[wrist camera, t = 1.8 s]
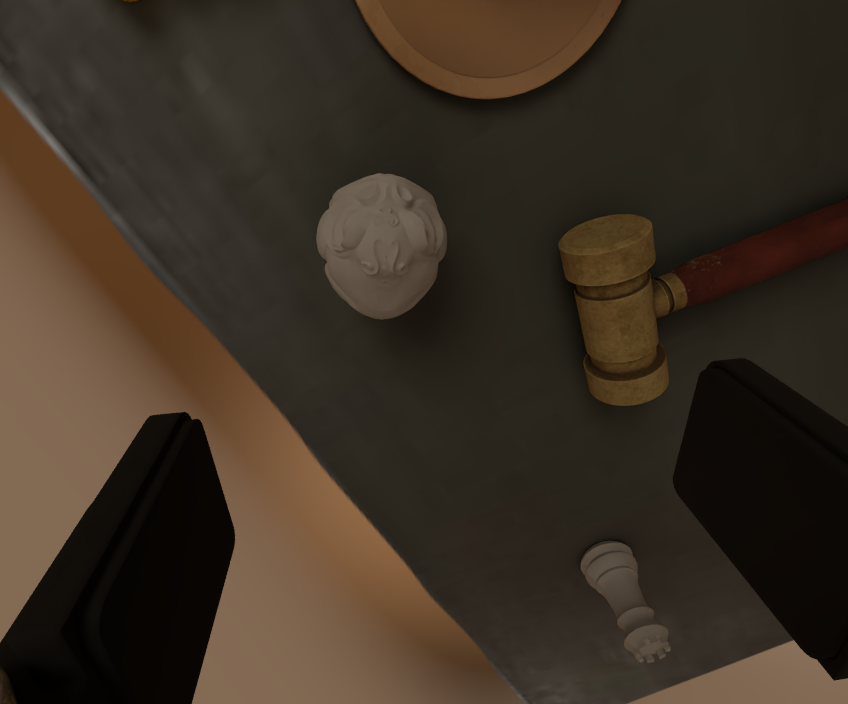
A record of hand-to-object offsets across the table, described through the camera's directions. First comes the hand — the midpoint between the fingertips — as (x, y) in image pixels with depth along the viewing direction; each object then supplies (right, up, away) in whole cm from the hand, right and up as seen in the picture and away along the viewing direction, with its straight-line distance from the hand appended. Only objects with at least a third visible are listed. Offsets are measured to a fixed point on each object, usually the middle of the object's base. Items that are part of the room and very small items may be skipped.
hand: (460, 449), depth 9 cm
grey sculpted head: (-3, +9, +17) cm, 19 cm away
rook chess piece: (+14, -15, +32) cm, 38 cm away
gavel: (+18, +8, +20) cm, 28 cm away
